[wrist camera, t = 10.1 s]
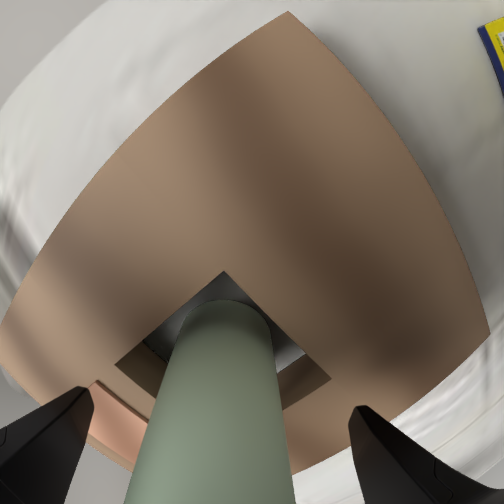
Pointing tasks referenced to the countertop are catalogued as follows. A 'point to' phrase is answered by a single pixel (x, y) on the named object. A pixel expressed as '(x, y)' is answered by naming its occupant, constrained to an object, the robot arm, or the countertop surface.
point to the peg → (216, 417)
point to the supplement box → (495, 45)
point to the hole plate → (253, 251)
